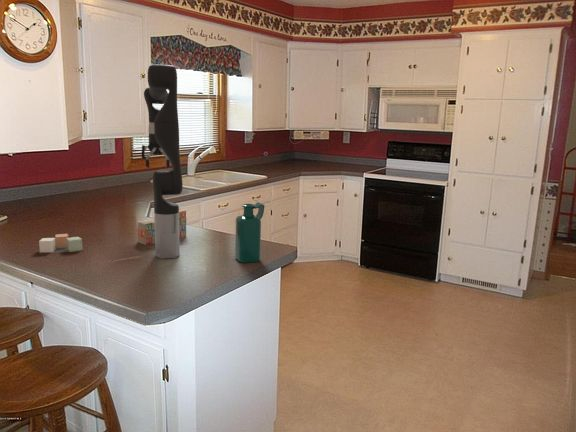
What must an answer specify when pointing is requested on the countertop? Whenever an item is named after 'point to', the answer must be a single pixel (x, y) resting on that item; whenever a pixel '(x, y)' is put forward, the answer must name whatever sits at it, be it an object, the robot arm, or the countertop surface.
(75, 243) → the sage cube
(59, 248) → the mat
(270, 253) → the countertop surface
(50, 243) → the cream cube
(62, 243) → the terracotta cube
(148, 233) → the stack of blocks
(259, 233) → the pitcher
